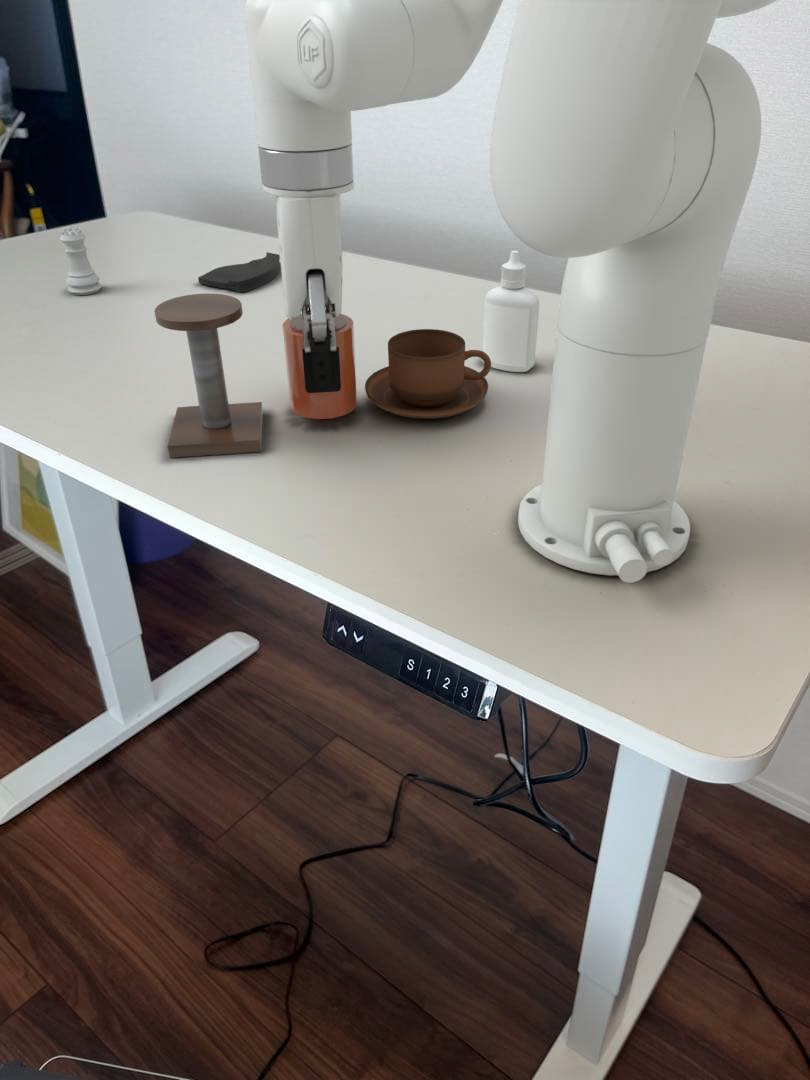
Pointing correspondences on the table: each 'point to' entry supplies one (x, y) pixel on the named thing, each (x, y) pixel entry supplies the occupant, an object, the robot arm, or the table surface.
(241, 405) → the cat scratching post
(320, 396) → the terracotta cup
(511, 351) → the eye dropper bottle
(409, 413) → the cup and saucer
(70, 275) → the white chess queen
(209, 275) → the fan shaped piece
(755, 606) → the table surface
